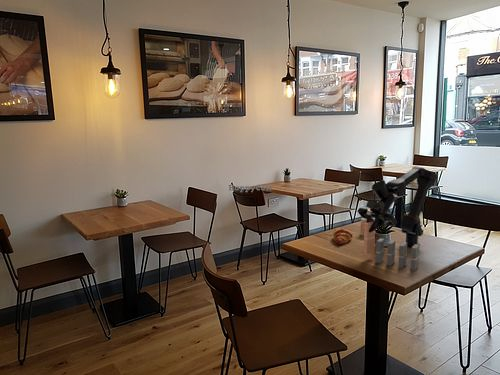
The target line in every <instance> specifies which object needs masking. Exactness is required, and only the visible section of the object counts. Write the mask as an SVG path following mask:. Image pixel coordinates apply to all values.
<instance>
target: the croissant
mask: <svg viewBox="0 0 500 375" xmlns="http://www.w3.org/2000/svg"><path fill="white" fill-rule="evenodd" d="M332 238H333V240H334V241H335V242H336V244H340V245H341V244H342V245H343V244H346V243H349V241H350V240H351V239H352V238H353V233H352V232H351V231H350V230H348V229H346V228H342V227H341V228H340V227H339V228H337V229H334V230H333V233H332Z"/></svg>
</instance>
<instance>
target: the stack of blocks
mask: <svg viewBox="0 0 500 375" xmlns="http://www.w3.org/2000/svg"><path fill="white" fill-rule="evenodd" d="M367 210H368V211H369V212H372V211H370V208H367ZM366 220H367V219H364V218H362V217H361V219H360V235H361V236H364V223H366ZM373 220H375V218H374V219H373Z"/></svg>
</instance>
